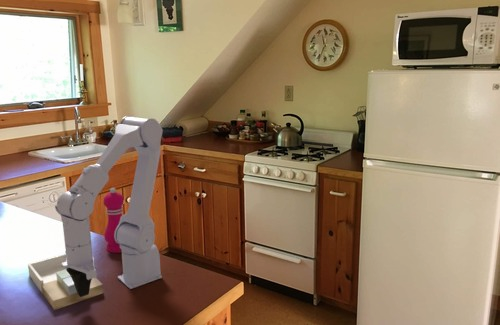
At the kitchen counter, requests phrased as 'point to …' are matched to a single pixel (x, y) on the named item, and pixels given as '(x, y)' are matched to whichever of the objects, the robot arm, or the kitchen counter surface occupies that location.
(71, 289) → the tile
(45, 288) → the oak plate
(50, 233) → the kitchen counter surface
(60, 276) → the tile
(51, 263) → the box
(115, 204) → the pepper mill
